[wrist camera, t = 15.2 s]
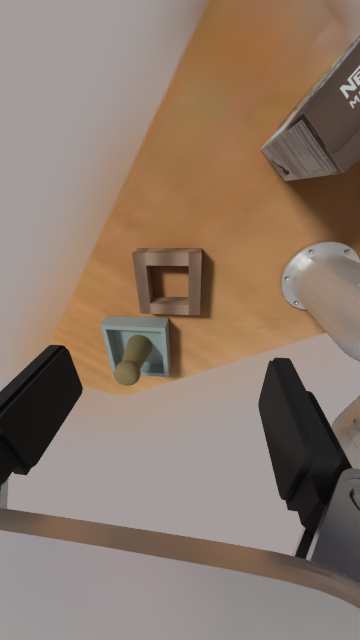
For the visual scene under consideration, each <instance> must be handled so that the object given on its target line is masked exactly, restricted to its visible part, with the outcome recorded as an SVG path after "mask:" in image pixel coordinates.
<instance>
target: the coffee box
mask: <svg viewBox="0 0 360 640" xmlns="http://www.w3.org/2000/svg"><path fill="white" fill-rule="evenodd" d="M261 151H262V152H263V154H264V155H265V156H266V157H267V159H268V160H269V161H270V163H271V164H272V165H273V166H274V168H275V169H276V170H277V172H278V173H279V174H280V175H281V177H282V178H283V179H284V180H285V181H292V180H298V179H305V178H312V177H320V176H327V175H334V174H340V173H345V172H347V171H348V170H349V169H350V168H351V167H352V166H353V165H354V164H355V163H357V162H358V161H359V160H360V36H359V37H358V38H357V39H356V40H355V42H354V43H353V44H352V45H351V46H350V47H349V48H348V49H347V50H346V51H345V52H344V53H343V54H342V55H341V57H340V58H339V59H338V60H337V61H336V62H335V63H334V64H333V65H332V66H331V67H330V68H329V69H328V70H327V71H326V73H325V74H324V75H323V76H322V77H321V78H320V79H319V80H318V81H317V82H316V83H315V85H314V86H313V87H312V88H311V89H310V90H309V92H308V93H307V94H306V95H305V96H304V97H303V99H302V100H301V101H300V102H299V103H298V105H297V106H296V107H295V108H294V109H293V110H292V112H291V113H290V114H289V115H288V116H287V118H286V119H285V120H284V121H283V123H282V124H281V125H280V126H279V127H278V129H277V130H276V131H275V132H274V134H273V135H272V136H271V137H270V138H269V140H268V141H267V142H266V143H265V144H264V145H263V147H262V148H261Z"/></svg>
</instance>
